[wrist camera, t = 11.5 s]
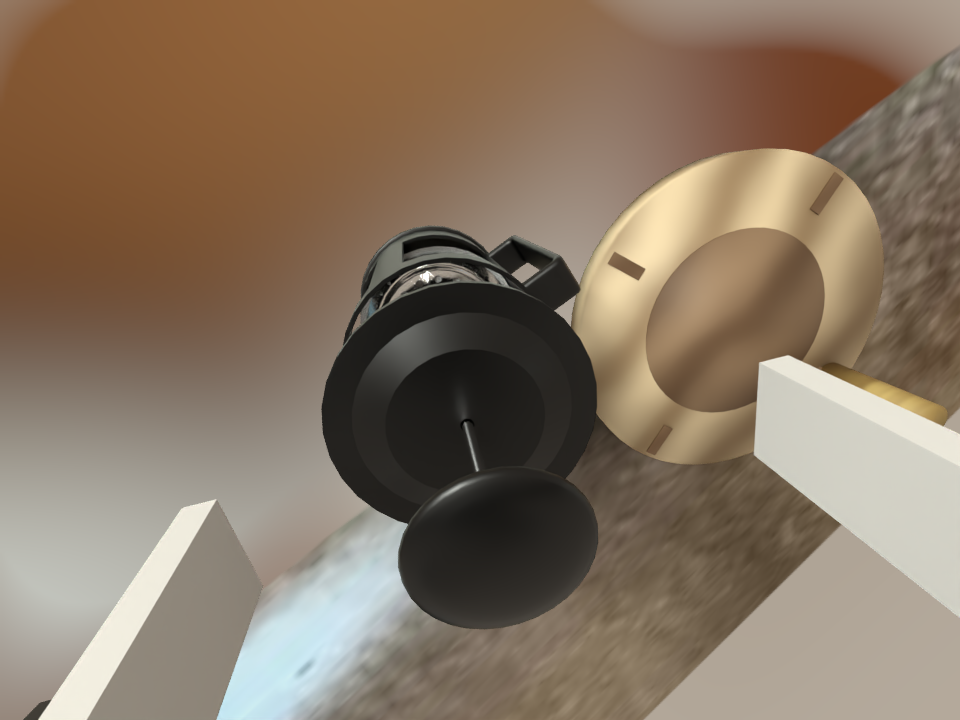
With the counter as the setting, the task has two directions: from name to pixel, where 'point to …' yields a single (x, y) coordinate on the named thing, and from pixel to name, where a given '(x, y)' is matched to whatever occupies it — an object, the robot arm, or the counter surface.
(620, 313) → the turntable
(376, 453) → the french press
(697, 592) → the counter surface
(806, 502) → the counter surface
